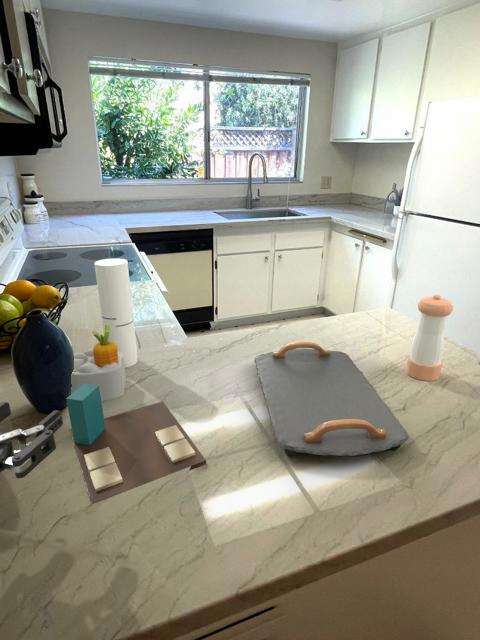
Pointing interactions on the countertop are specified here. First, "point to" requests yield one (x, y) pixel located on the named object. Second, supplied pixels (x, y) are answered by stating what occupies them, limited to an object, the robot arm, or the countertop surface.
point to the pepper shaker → (429, 339)
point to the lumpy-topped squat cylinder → (99, 375)
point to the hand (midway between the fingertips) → (33, 411)
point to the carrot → (104, 349)
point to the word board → (135, 451)
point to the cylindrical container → (117, 306)
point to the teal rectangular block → (86, 414)
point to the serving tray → (324, 403)
